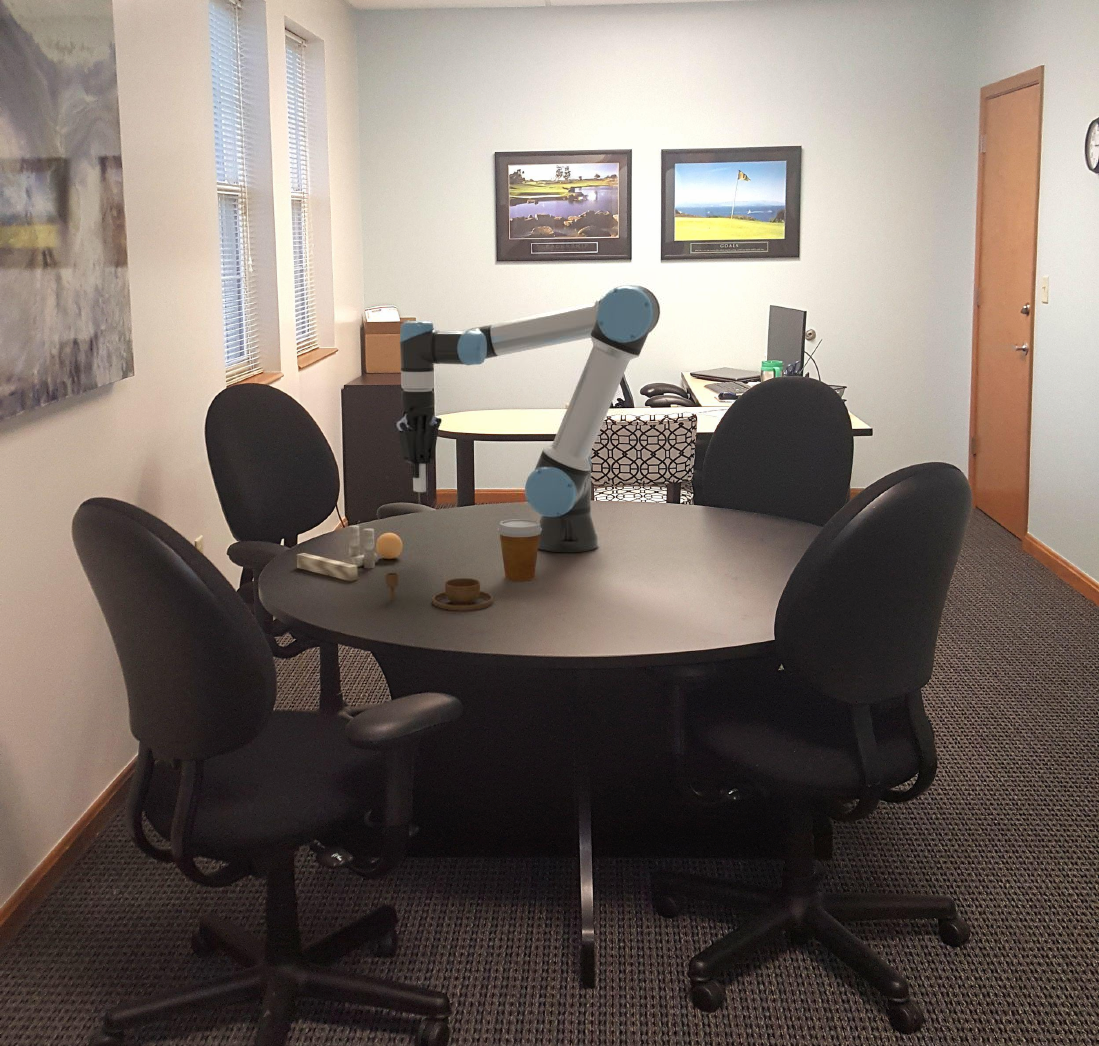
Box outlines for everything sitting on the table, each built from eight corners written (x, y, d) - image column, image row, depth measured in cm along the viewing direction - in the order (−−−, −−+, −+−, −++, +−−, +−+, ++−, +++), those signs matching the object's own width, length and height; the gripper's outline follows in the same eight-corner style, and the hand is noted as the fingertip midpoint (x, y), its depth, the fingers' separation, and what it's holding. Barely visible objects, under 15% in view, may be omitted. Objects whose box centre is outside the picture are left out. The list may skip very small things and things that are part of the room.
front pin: (378, 553, 267) (348, 560, 261) (378, 563, 268) (348, 570, 261) (371, 551, 269) (341, 557, 262) (371, 561, 269) (341, 568, 263)
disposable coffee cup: (536, 584, 250) (536, 528, 247) (492, 582, 252) (492, 526, 249) (546, 573, 259) (546, 519, 256) (503, 571, 261) (503, 517, 258)
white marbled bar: (357, 579, 253) (357, 565, 253) (350, 581, 252) (349, 567, 251) (304, 566, 265) (304, 552, 264) (297, 567, 263) (296, 554, 263)
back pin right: (362, 563, 267) (361, 526, 266) (354, 565, 266) (352, 528, 264) (355, 561, 269) (354, 524, 267) (347, 563, 267) (345, 526, 265)
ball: (385, 552, 266) (398, 566, 271) (398, 530, 268) (411, 544, 273) (366, 547, 270) (380, 560, 274) (379, 525, 272) (392, 539, 276)
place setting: (454, 621, 225) (453, 591, 224) (380, 603, 238) (379, 574, 236) (513, 602, 239) (513, 573, 238) (440, 586, 251) (440, 558, 250)
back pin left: (377, 566, 264) (376, 529, 263) (369, 568, 263) (367, 531, 261) (370, 565, 266) (369, 528, 264) (361, 567, 264) (360, 529, 262)
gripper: (427, 386, 279) (428, 485, 283) (385, 390, 269) (387, 493, 274) (449, 388, 274) (451, 489, 279) (407, 392, 264) (410, 497, 269)
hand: (419, 491), depth 276 cm, fingers closed
